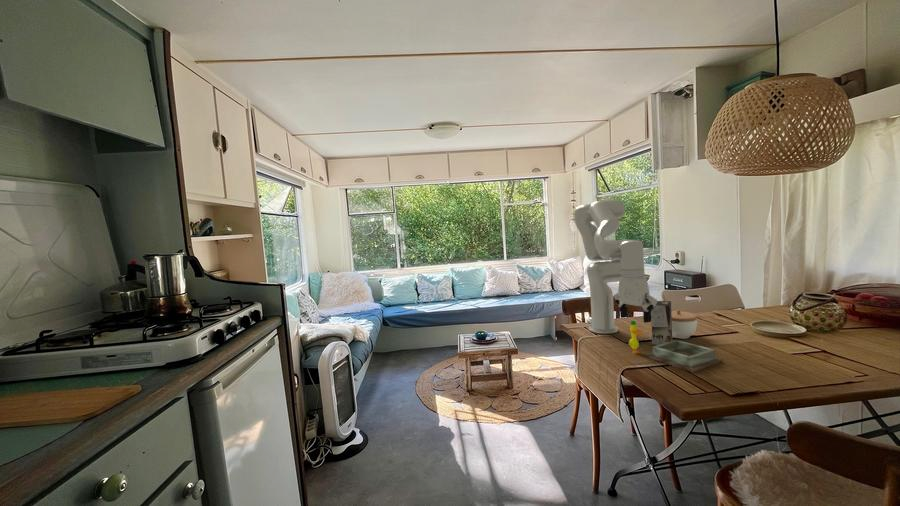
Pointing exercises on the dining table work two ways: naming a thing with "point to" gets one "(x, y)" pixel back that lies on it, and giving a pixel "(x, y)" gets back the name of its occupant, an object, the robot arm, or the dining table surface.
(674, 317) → the lidded bowl
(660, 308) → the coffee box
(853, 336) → the dining table surface
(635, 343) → the toy figure
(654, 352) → the tray
